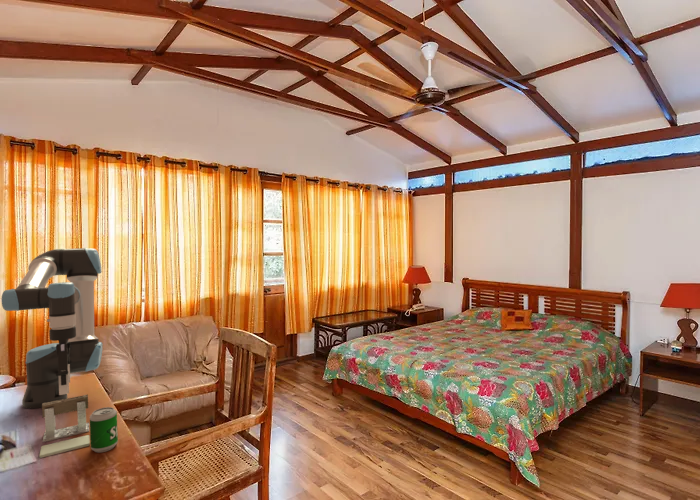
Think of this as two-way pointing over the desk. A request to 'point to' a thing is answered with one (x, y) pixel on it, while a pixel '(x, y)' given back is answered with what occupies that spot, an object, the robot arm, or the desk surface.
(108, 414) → the soda can
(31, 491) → the desk surface
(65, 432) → the rack
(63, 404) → the rail
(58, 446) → the mat
